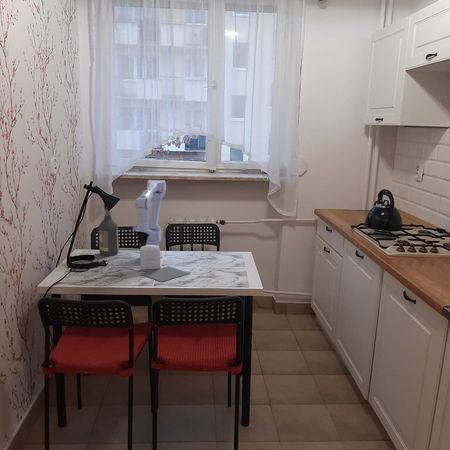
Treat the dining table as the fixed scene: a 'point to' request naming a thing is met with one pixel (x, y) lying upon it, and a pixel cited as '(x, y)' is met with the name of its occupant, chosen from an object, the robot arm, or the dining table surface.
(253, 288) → the dining table surface
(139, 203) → the robot arm
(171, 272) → the mat
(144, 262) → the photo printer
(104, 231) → the liquor
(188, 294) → the dining table surface
